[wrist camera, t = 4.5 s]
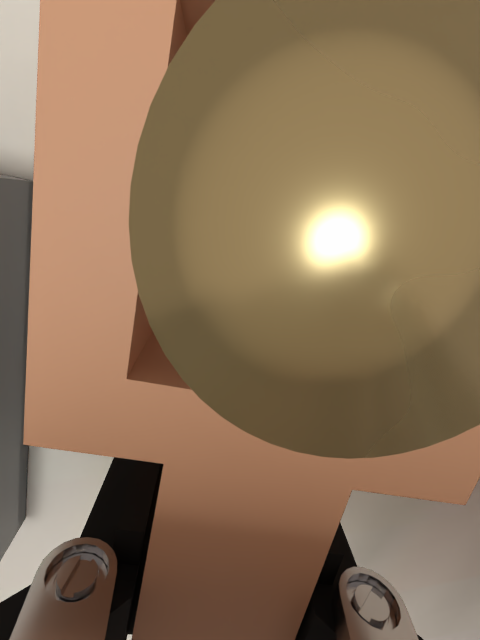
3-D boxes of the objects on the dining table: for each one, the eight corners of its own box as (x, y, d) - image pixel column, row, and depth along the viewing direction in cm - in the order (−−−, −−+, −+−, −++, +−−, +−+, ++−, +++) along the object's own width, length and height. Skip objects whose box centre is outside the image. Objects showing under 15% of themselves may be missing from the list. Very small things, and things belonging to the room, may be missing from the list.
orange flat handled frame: (455, 110, 8) (722, -1, 4) (305, 535, 12) (354, 722, 8) (150, 23, 7) (49, -243, 3) (94, 510, 11) (13, 703, 7)
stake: (289, 176, 11) (763, 12, 2) (270, 258, 12) (504, 480, 2) (206, 155, 10) (178, -214, 1) (192, 242, 11) (102, 429, 2)
